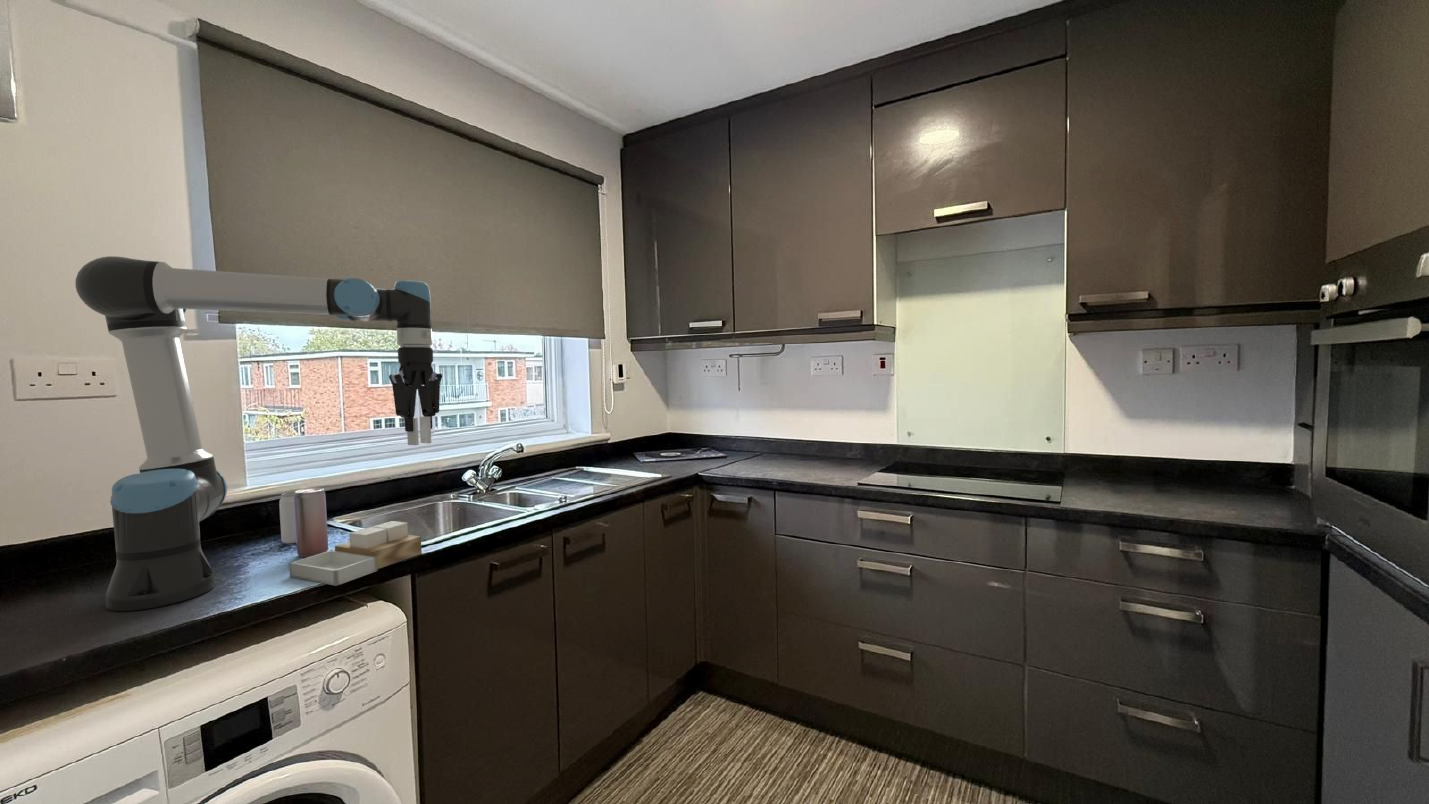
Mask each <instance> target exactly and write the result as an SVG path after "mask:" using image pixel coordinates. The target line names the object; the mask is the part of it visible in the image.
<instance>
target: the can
mask: <svg viewBox="0 0 1429 804" xmlns="http://www.w3.org/2000/svg"><path fill="white" fill-rule="evenodd" d="M294 496H295V491H290V492H289V491H288V492H285V493H282V494H281V495H280V498H279V501H278V502H279V505H278V506H279V520H280V522H279V523H280V536H281V537H280V538H281V542H282V543H283V544H285V545H293V544H295V545H296V544H297V541H296V523H295V506H294Z"/></svg>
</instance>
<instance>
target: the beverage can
mask: <svg viewBox="0 0 1429 804" xmlns="http://www.w3.org/2000/svg"><path fill="white" fill-rule="evenodd" d="M294 492H295V496H294V506H295V523H296V541H297V543H296V554H297V555H298V557H300V558H302V559H304V558H307V557H310V556H314V555H317V554H320V553H324V552H327V551H329V536H328V535H329V534H328V517H327V501H326V492H325V488H324V487H314V488H313V487H309V488H304V489H298V490H295V491H294Z"/></svg>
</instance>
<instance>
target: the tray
mask: <svg viewBox="0 0 1429 804" xmlns="http://www.w3.org/2000/svg"><path fill="white" fill-rule="evenodd" d="M288 566H289V567H288V569H289V578H293V579H298V580H303V581H308V582H314V583H319V584H323V585H324V584H325V585H329V586H335V587H337V586H340V585H343V584H345V583H348V582H350V581H353V580H356V579H359V578H361V577H364V576H367V575H369V574H372V573H375V572H378V569H377V557H374V556H367V555H361V554H354V553H348V552H341V551H335V549H334V550H333V549H331V550H327V552H324V553H320V554H317V555H314V556H310V557H307V558H301V559H297V560H294V561H291V562H288Z"/></svg>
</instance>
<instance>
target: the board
mask: <svg viewBox="0 0 1429 804" xmlns="http://www.w3.org/2000/svg"><path fill="white" fill-rule="evenodd" d="M334 550H335V551H341V552H348V553H354V554H361V555H367V556H374V557H377V570H380V569H382V568H384V567H387V566H390V565H393V564H395V563H398V562H401V561H402V562H403V561H404V560H407V559H410V558H413V557H415V556H419V555H421V554H423V553H422V536H420V535H413V534H408V536H405V537H402V538H399V539H395V540H392V541H389V542H388V541H387V542H386V543H383V544H380V545H376V546H373V547H370V548H367V549H364V548H358V547H351V546H350V541H347V542H345V543H343V542H342V543H341V544H338V545H334Z"/></svg>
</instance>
